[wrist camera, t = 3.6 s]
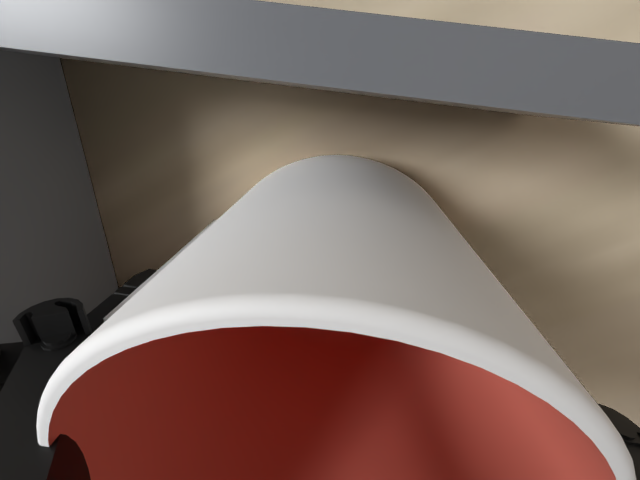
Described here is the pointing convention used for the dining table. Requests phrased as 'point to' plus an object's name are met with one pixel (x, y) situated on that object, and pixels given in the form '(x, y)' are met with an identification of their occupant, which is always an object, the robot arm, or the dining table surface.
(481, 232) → the dining table surface
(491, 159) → the dining table surface
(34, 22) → the bay
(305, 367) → the cup
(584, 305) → the dining table surface
